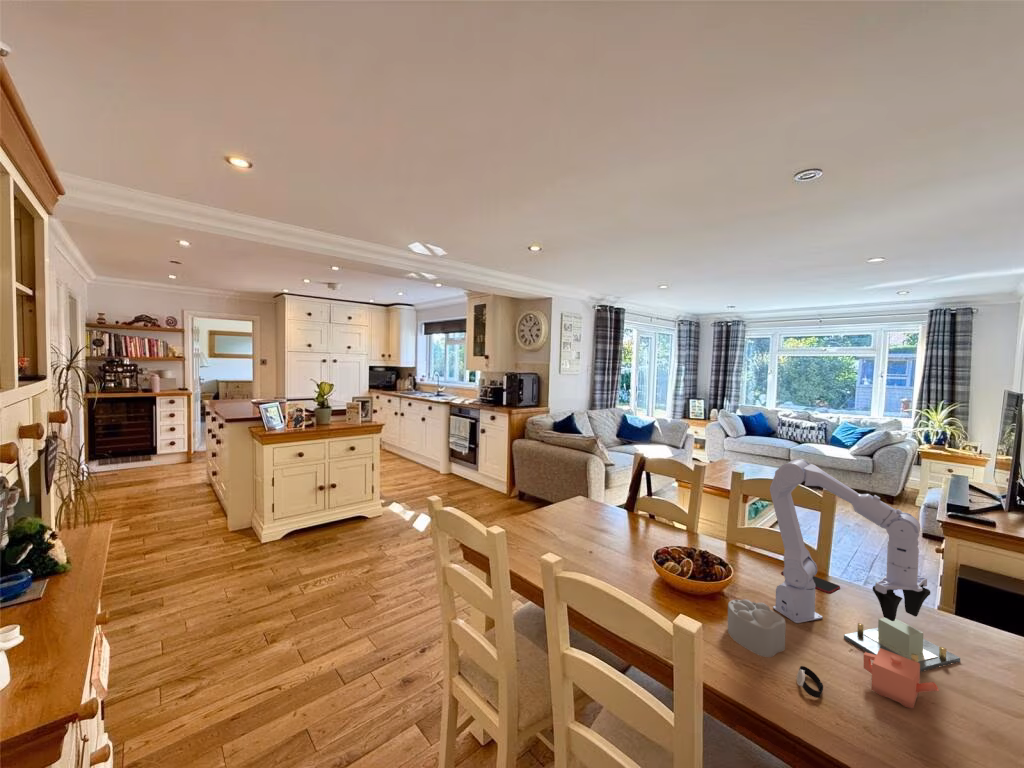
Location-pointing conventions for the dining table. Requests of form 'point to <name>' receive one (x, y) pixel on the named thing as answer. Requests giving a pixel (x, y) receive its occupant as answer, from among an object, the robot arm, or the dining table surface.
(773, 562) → the dining table surface
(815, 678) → the watch
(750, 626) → the lumpy-topped squat cylinder
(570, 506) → the dining table surface
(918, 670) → the pink cube teapot
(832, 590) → the smartphone
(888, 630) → the board block
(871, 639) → the chassis
